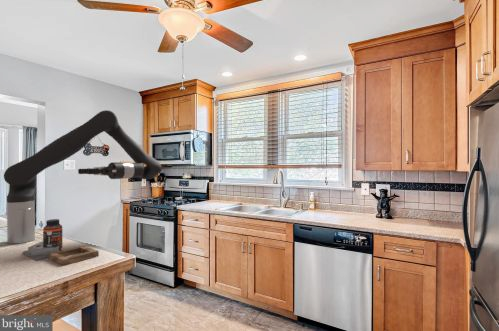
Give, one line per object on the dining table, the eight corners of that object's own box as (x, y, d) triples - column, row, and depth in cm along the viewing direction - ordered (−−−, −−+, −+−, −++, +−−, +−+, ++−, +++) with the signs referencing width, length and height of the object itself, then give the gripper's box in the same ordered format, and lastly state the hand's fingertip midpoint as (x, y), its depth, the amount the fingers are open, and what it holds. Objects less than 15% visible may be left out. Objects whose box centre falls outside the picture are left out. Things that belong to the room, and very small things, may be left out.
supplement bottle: (52, 252, 99) (52, 221, 99) (38, 251, 100) (38, 221, 100) (66, 247, 105) (66, 218, 105) (53, 247, 106) (53, 218, 106)
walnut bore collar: (48, 258, 95) (48, 253, 95) (82, 250, 104) (82, 245, 104) (63, 265, 88) (63, 260, 88) (98, 255, 97) (98, 250, 97)
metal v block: (22, 253, 101) (22, 244, 101) (50, 247, 108) (50, 239, 108) (37, 260, 92) (37, 251, 92) (67, 253, 100) (67, 245, 100)
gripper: (112, 162, 129) (75, 162, 116) (129, 162, 121) (91, 162, 108) (112, 178, 129) (75, 180, 116) (130, 179, 121) (91, 181, 108)
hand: (83, 171), depth 112 cm, fingers open, 8 cm apart
